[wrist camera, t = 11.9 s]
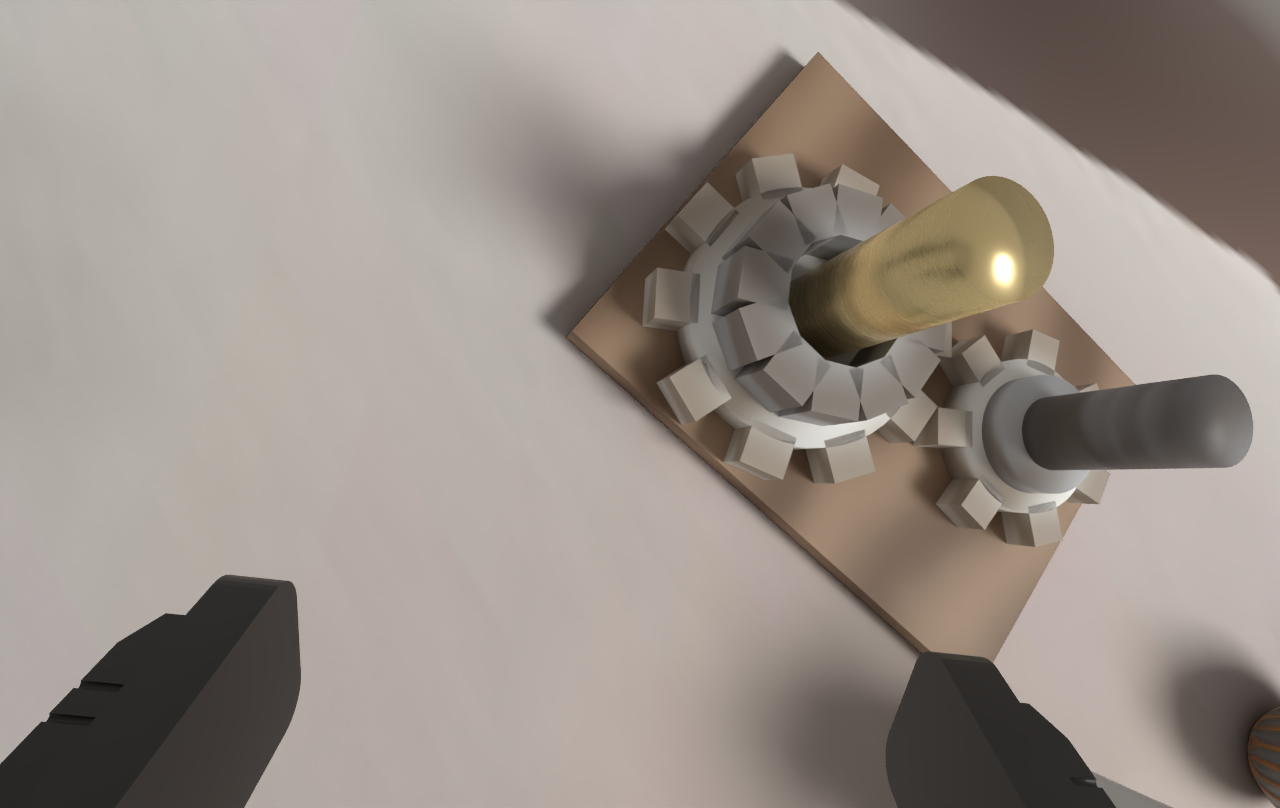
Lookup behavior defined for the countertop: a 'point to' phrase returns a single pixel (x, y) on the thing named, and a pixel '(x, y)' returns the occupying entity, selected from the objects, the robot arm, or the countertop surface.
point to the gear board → (904, 479)
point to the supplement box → (1126, 795)
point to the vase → (1266, 754)
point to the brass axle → (928, 269)
